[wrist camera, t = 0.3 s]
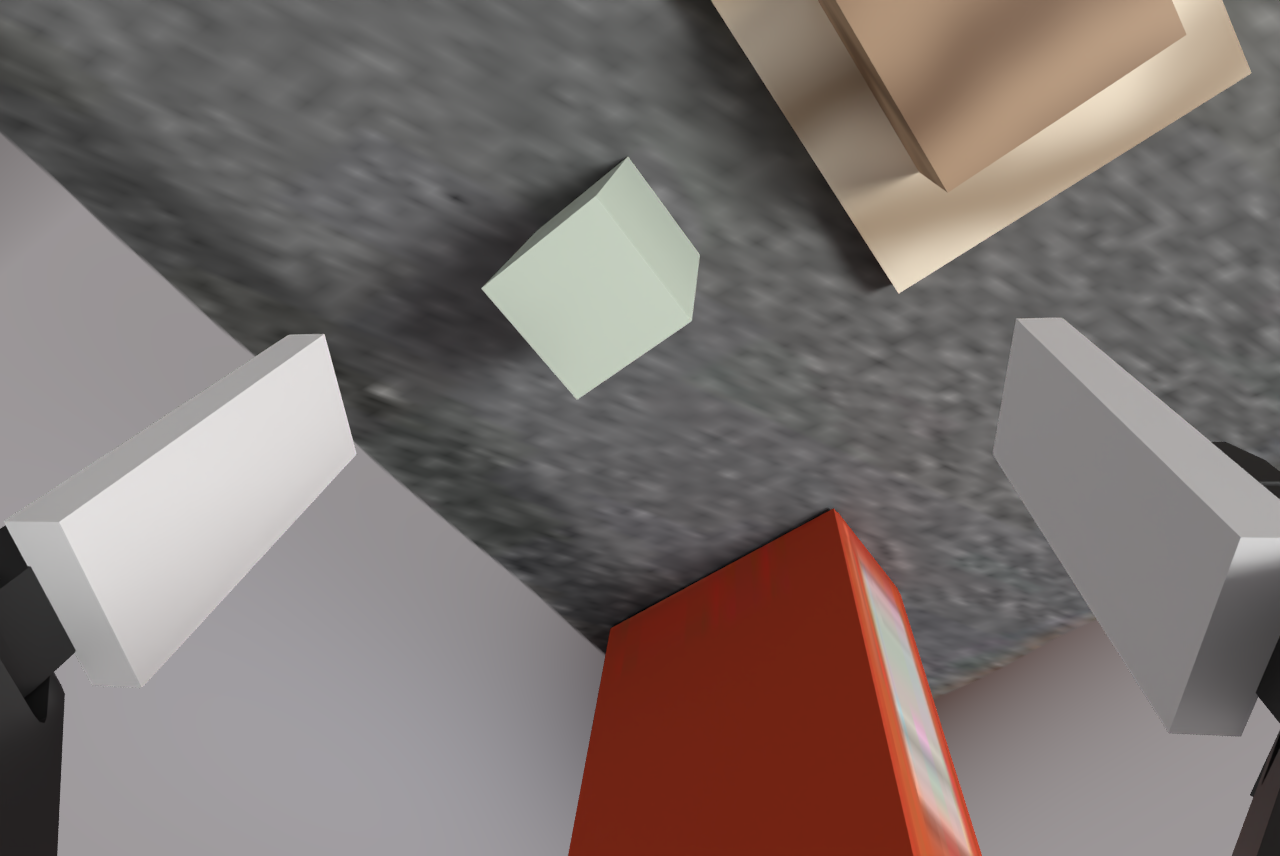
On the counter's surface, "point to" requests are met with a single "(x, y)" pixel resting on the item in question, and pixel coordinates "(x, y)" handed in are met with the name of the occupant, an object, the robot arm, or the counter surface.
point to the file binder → (772, 718)
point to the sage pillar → (600, 281)
